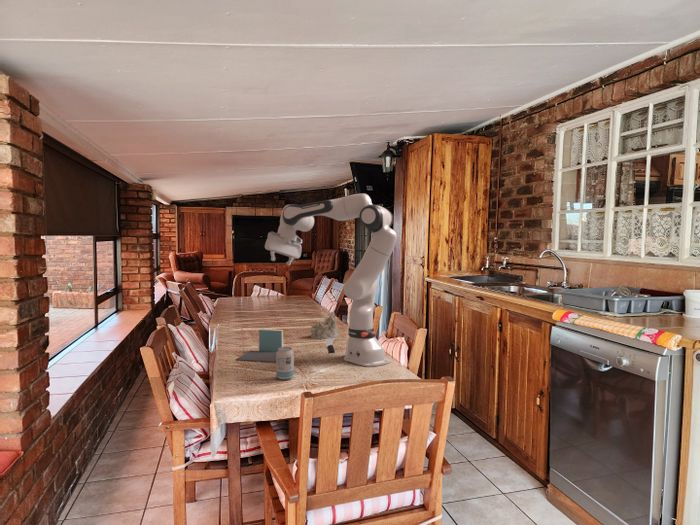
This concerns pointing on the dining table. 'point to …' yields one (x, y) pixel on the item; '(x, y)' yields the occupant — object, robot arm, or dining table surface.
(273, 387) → the dining table surface
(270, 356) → the mat
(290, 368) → the beverage can
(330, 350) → the kitchen cleaver
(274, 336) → the tile
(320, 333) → the jagged grey rock
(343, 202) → the robot arm
